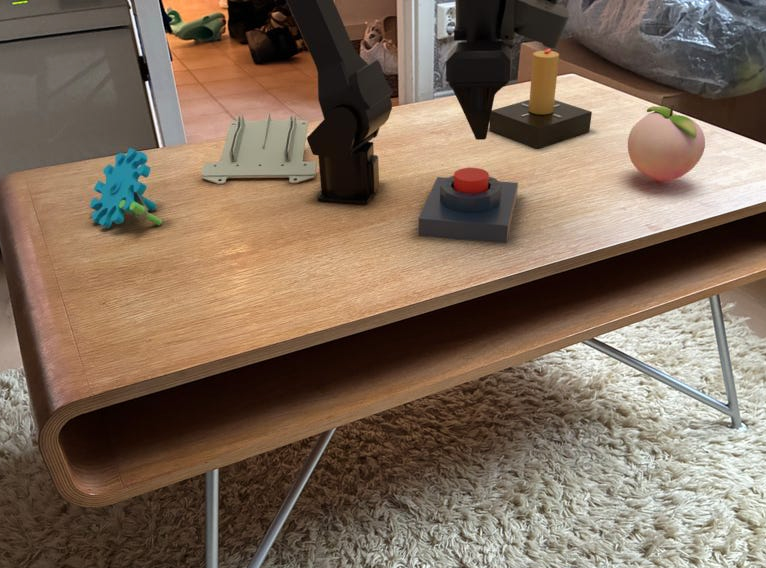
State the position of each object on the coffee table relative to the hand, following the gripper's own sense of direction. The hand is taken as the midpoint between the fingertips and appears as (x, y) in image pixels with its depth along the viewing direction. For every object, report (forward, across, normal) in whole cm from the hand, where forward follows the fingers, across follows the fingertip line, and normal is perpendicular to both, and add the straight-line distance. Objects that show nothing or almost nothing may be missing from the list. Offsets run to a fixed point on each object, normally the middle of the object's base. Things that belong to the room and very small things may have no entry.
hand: (483, 124), depth 85 cm
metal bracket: (+10, +13, +31) cm, 35 cm away
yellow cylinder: (+9, +29, -7) cm, 31 cm away
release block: (+11, -1, +2) cm, 11 cm away
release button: (+7, -1, +1) cm, 7 cm away
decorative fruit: (+12, +11, -21) cm, 27 cm away
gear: (+9, -6, +42) cm, 43 cm away
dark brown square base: (+12, +29, -6) cm, 32 cm away
